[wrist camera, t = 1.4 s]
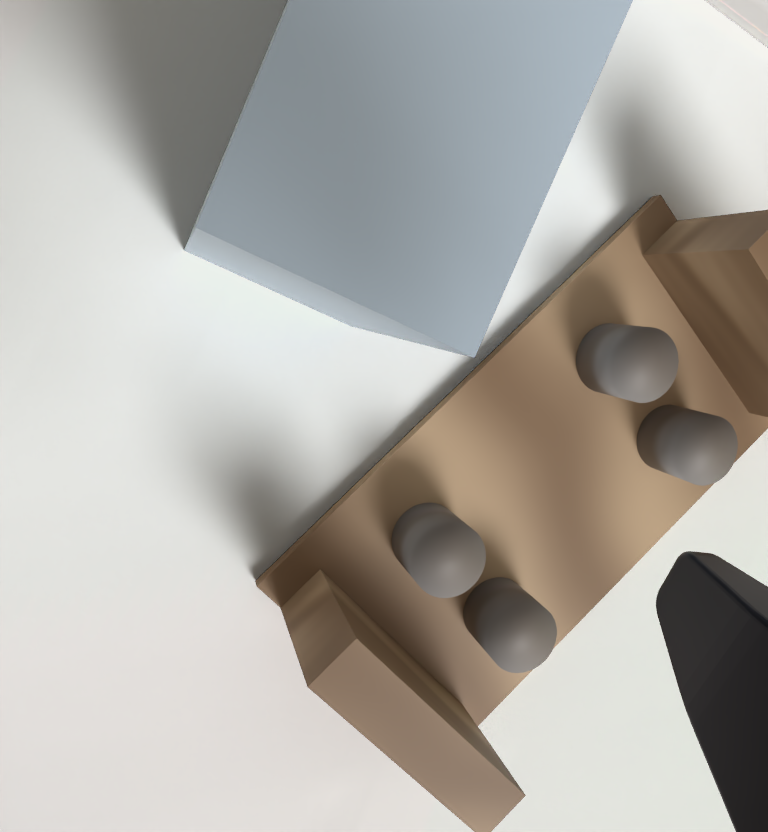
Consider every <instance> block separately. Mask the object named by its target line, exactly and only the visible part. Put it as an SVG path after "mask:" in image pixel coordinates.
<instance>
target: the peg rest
mask: <svg viewBox="0 0 768 832" xmlns="http://www.w3.org/2000/svg"><path fill="white" fill-rule="evenodd" d="M767 429H768V210H763V211H755V212H746V213H738V214H729V215H721V216H712V217H704V218H695V219H686V220H678V221H677V220H676V218H675V216H674V215H673V213H672V212H671V210H670V209H669V207H668V206H667V204H666V202H665V201H664V199H663V198H662V196H661V195H658V196H653V197H652V198H650V199H649V200H648V201H647V202H646V203H645V204H644V205H643V206H642V207H641V208H640V209H639V210H638V211H637V212H636V213H635V214H634V215H633V216H632V217H631V218H630V219H629V220H628V221H627V222H626V223H625V224H624V225H623V226H622V227H621V228H620V229H618V230H617V231H616V232H615V233H614V234H613V235H612V236H611V237H610V238H609V239H608V240H607V241H606V242H605V243H604V244H603V245H602V246H601V247H600V248H599V249H598V250H597V251H596V252H595V253H594V254H593V255H592V256H591V257H590V258H589V259H587V260H586V261H585V262H584V263H583V264H582V265H581V266H580V267H579V268H578V269H577V270H576V271H575V272H574V273H573V274H572V275H571V276H570V277H569V278H568V279H567V280H566V281H565V282H564V283H563V284H562V285H561V286H560V287H559V288H558V289H557V290H555V291H554V292H553V293H552V294H551V295H550V296H549V297H548V298H547V299H546V300H545V301H544V302H543V303H542V304H541V305H540V306H539V307H538V308H537V309H536V310H535V311H534V312H533V313H532V314H531V315H530V316H529V317H528V318H527V319H526V320H524V321H523V322H522V323H521V324H520V325H519V326H518V327H517V328H516V329H515V330H514V331H513V332H512V333H511V334H510V335H509V336H508V337H507V338H506V339H505V340H504V341H503V342H502V343H501V344H500V345H499V346H498V347H497V348H496V349H495V350H494V351H492V352H491V353H490V354H489V355H488V356H487V357H486V358H485V359H484V360H483V361H482V362H481V363H480V364H479V365H478V366H477V367H476V368H475V369H474V370H473V371H472V372H471V373H470V374H469V375H468V376H467V377H466V378H465V379H464V380H463V381H461V382H460V383H459V384H458V385H457V386H456V387H455V388H454V389H453V390H452V391H451V392H450V393H449V394H448V395H447V396H446V397H445V398H444V399H443V400H442V401H441V402H440V403H439V404H438V405H437V406H436V407H435V408H434V409H433V410H432V411H431V412H429V413H428V414H427V415H426V416H425V417H424V418H423V419H422V420H421V421H420V422H419V423H418V424H417V425H416V426H415V427H414V428H413V429H412V430H411V431H410V432H409V433H408V434H407V435H406V436H405V437H404V438H403V439H402V440H401V441H400V442H398V443H397V444H396V445H395V446H394V447H393V448H392V449H391V450H390V451H389V452H388V453H387V454H386V455H385V456H384V457H383V458H382V459H381V460H380V461H379V462H378V463H377V464H376V465H375V466H374V467H373V468H372V469H371V470H370V471H369V472H368V473H366V474H365V475H364V476H363V477H362V478H361V479H360V480H359V481H358V482H357V483H356V484H355V485H354V486H353V487H352V488H351V489H350V490H349V491H348V492H347V493H346V494H345V495H344V496H343V497H342V498H341V499H340V500H339V501H338V502H337V503H335V504H334V505H333V506H332V507H331V508H330V509H329V510H328V511H327V512H326V513H325V514H324V515H323V516H322V517H321V518H320V519H319V520H318V521H317V522H316V523H315V524H314V525H313V526H312V527H311V528H310V529H309V530H308V531H307V532H306V533H305V534H303V535H302V536H301V537H300V538H299V539H298V540H297V541H296V542H295V543H294V544H293V545H292V546H291V547H290V548H289V549H288V550H287V551H286V552H285V553H284V554H283V555H282V556H281V557H280V558H279V559H278V560H277V561H276V562H275V563H274V564H272V565H271V566H270V567H269V568H268V569H267V570H266V571H265V572H264V573H263V574H262V575H261V576H260V577H259V578H258V579H257V580H256V585H257V587H258V588H259V589H260V590H262V591H263V592H264V593H265V594H266V595H267V596H268V597H269V598H270V599H271V600H273V601H274V602H275V603H276V604H277V605H278V606H279V607H280V608H281V610H282V613H283V616H284V619H285V622H286V625H287V628H288V631H289V634H290V637H291V640H292V642H293V645H294V648H295V651H296V654H297V657H298V660H299V663H300V666H301V669H302V672H303V675H304V678H305V680H306V683H307V686H308V688H310V689H311V690H312V691H313V692H314V693H315V694H316V695H318V696H319V697H320V698H321V699H322V700H323V701H324V702H326V703H327V704H328V705H329V706H330V707H331V708H333V709H334V710H335V711H336V712H337V713H338V714H339V715H341V716H342V717H343V718H344V719H345V720H346V721H348V722H349V723H350V724H351V725H352V726H353V727H354V728H356V729H357V730H358V731H359V732H360V733H361V734H363V735H364V736H365V737H366V738H367V739H368V740H369V741H371V742H372V743H373V744H374V745H375V746H376V747H377V748H379V749H380V750H381V751H382V752H383V753H384V754H386V755H387V756H388V757H389V758H390V759H391V760H392V761H394V762H395V763H396V764H397V765H398V766H399V767H401V768H402V769H403V770H404V771H405V772H406V773H407V774H409V775H410V776H411V777H412V778H413V779H414V780H416V781H417V782H418V783H419V784H420V785H421V786H422V787H424V788H425V789H426V790H427V791H428V792H429V793H431V794H432V795H433V796H434V797H435V798H436V799H437V800H439V801H440V802H441V803H442V804H443V805H444V806H445V807H447V808H448V809H449V810H450V811H451V812H452V813H454V814H455V815H456V816H457V817H458V818H459V819H460V820H462V821H463V822H464V823H465V824H466V825H467V826H469V827H470V828H471V829H472V830H473V831H474V832H491V831H492V830H493V829H494V828H495V827H496V826H497V825H498V824H499V823H500V822H501V821H502V820H503V819H504V818H505V816H506V815H507V814H508V813H509V812H510V811H511V810H512V809H513V808H514V807H515V806H516V805H517V804H518V803H519V802H520V801H521V800H522V799H523V798H524V797H525V796H526V795H525V794H524V793H523V791H522V790H521V788H520V787H519V785H518V784H517V782H516V781H515V780H514V778H513V777H512V775H511V774H510V772H509V771H508V769H507V768H506V767H505V765H504V764H503V762H502V761H501V759H500V758H499V756H498V755H497V754H496V752H495V751H494V749H493V748H492V746H491V745H490V743H489V742H488V741H487V739H486V738H485V736H484V735H483V733H482V732H481V730H480V729H479V728H478V725H479V724H480V723H481V722H482V721H483V720H484V719H485V718H486V717H487V716H488V715H489V714H490V713H491V712H492V711H493V710H494V709H495V708H496V707H497V706H498V705H499V704H500V703H501V702H502V701H503V700H504V699H505V698H506V697H507V696H508V695H509V694H510V693H511V691H512V690H513V689H514V688H515V687H516V686H517V685H518V684H519V683H520V682H521V681H522V680H523V679H524V678H525V677H526V676H527V675H528V674H529V673H530V672H531V671H532V670H533V669H534V668H536V667H538V666H539V665H540V664H542V663H543V662H544V661H545V660H546V659H547V658H548V656H549V655H550V653H551V652H552V650H553V648H554V647H555V646H556V645H557V644H558V643H559V642H560V641H561V640H562V639H563V638H564V637H565V636H566V635H567V634H568V633H569V632H570V631H571V630H572V629H573V628H574V627H575V626H576V625H577V624H578V623H579V622H580V621H581V620H582V619H583V618H584V617H585V615H586V614H587V613H588V612H589V611H590V610H591V609H592V608H593V607H594V606H595V605H596V604H597V603H598V602H599V601H600V600H601V599H602V598H603V597H604V596H605V595H606V594H607V593H608V592H609V591H610V590H611V589H612V588H613V587H614V586H615V585H616V584H617V583H618V582H619V581H620V580H621V579H622V577H623V576H624V575H625V574H626V573H627V572H628V571H629V570H630V569H631V568H632V567H633V566H634V565H635V564H636V563H637V562H638V561H639V560H640V559H641V558H642V557H643V556H644V555H645V554H646V553H647V552H648V551H649V550H650V549H651V548H652V547H653V546H654V545H655V544H656V543H657V542H658V541H659V539H660V538H661V537H662V536H663V535H664V534H665V533H666V532H667V531H668V530H669V529H670V528H671V527H672V526H673V525H674V524H675V523H676V522H677V521H678V520H679V519H680V518H681V517H682V516H683V515H684V514H685V513H686V512H687V511H688V510H689V509H690V508H691V507H692V506H693V505H694V504H695V503H696V501H697V500H698V499H699V498H700V497H701V496H702V495H703V494H704V493H705V492H706V491H707V490H708V489H709V488H710V487H711V486H712V485H713V484H714V483H715V482H717V481H719V480H720V479H722V478H723V477H724V476H725V475H726V474H727V473H728V471H729V470H730V469H731V467H732V465H733V463H734V462H735V461H736V460H737V459H738V458H739V457H740V456H741V455H742V454H743V453H744V452H745V451H746V450H747V449H748V448H749V447H750V446H751V445H752V444H753V443H754V442H755V441H756V440H757V439H758V438H759V437H760V436H761V435H762V434H763V433H764V432H765V431H766V430H767Z"/></svg>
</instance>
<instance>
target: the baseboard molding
mask: <svg viewBox="0 0 768 832" xmlns="http://www.w3.org/2000/svg"><path fill="white" fill-rule="evenodd" d="M705 1H706V2H707V3H709V4H710V5H711V6H713V7H714V8H715V9H717V10H718V11H719V12H721V13H722V14H723V15H725V16H726V17H727V18H729V19H730V20H731V21H733V22H734V23H735V24H737V25H738V26H739V27H741V28H742V29H743V30H745V31H746V32H747V33H749V34H750V35H751V36H753V37H754V38H755V39H757V40H758V41H759V42H761V43H762V44H763V45H765V46H766V47H767V48H768V0H705Z"/></svg>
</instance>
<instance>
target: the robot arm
mask: <svg viewBox="0 0 768 832" xmlns="http://www.w3.org/2000/svg"><path fill="white" fill-rule="evenodd" d="M656 609H657V615H658V618H659V622H660V625H661V629H662V632H663V635H664V639H665V642H666V646H667V649H668V652H669V656H670V659H671V663H672V666H673V670H674V673H675V676H676V680H677V683H678V687H679V690H680V693H681V696H682V699H683V702H684V705H685V708H686V711H687V714H688V716H689V719H690V722H691V724H692V727H693V729H694V732H695V734H696V736H697V739H698V741H699V744H700V746H701V748H702V751H703V753H704V756H705V758H706V760H707V763H708V765H709V768H710V770H711V773H712V775H713V777H714V780H715V782H716V785H717V787H718V789H719V792H720V794H721V797H722V799H723V801H724V804H725V806H726V809H727V811H728V814H729V816H730V818H731V821H732V823H733V826H734V828H735V830H736V832H768V587H767V586H765V585H764V584H762V583H760V582H759V581H757V580H756V579H754V578H752V577H751V576H749V575H747V574H746V573H744V572H743V571H741V570H739V569H738V568H736V567H734V566H733V565H731V564H730V563H728V562H726V561H725V560H723V559H721V558H720V557H718V556H716V555H714V554H710V553H701V552H691V551H688V552H684V553H682V554H681V555H680V556H679V557H678V558H677V560H676V562H675V564H674V565H673V567H672V569H671V570H670V572H669V574H668V576H667V577H666V579H665V581H664V583H663V584H662V586H661V588H660V590H659V592H658V595H657V600H656Z"/></svg>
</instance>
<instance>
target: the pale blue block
mask: <svg viewBox="0 0 768 832" xmlns="http://www.w3.org/2000/svg"><path fill="white" fill-rule="evenodd" d="M632 1H633V0H288V1H287V3H286V6H285V8H284V11H283V13H282V15H281V18H280V20H279V23H278V25H277V27H276V30H275V32H274V35H273V37H272V39H271V42H270V44H269V47H268V49H267V51H266V54H265V56H264V59H263V61H262V63H261V66H260V68H259V71H258V73H257V76H256V78H255V80H254V83H253V85H252V88H251V90H250V92H249V95H248V97H247V100H246V102H245V104H244V107H243V109H242V112H241V114H240V116H239V119H238V121H237V124H236V126H235V128H234V131H233V133H232V136H231V138H230V140H229V143H228V145H227V148H226V150H225V152H224V155H223V157H222V160H221V162H220V165H219V167H218V169H217V172H216V174H215V177H214V179H213V181H212V184H211V186H210V189H209V191H208V193H207V196H206V198H205V201H204V203H203V205H202V208H201V210H200V213H199V215H198V217H197V220H196V222H195V225H194V227H193V229H192V232H191V234H190V237H189V239H188V241H187V244H186V246H185V249H184V250H185V251H187V252H189V253H191V254H193V255H196V256H198V257H200V258H202V259H204V260H207V261H209V262H211V263H213V264H215V265H218V266H220V267H222V268H224V269H226V270H229V271H231V272H233V273H235V274H237V275H240V276H242V277H244V278H246V279H248V280H251V281H253V282H255V283H257V284H259V285H262V286H264V287H266V288H268V289H270V290H273V291H275V292H277V293H279V294H281V295H284V296H286V297H288V298H290V299H292V300H295V301H297V302H299V303H301V304H303V305H306V306H308V307H310V308H312V309H314V310H317V311H319V312H321V313H323V314H326V315H328V316H330V317H332V318H334V319H337V320H339V321H341V322H343V323H345V324H348V325H350V326H352V327H356V328H360V329H364V330H368V331H372V332H376V333H380V334H384V335H388V336H391V337H395V338H399V339H403V340H407V341H411V342H415V343H419V344H423V345H427V346H430V347H434V348H438V349H442V350H446V351H450V352H454V353H458V354H462V355H466V356H470V357H473V358H475V356H476V353H477V351H478V349H479V347H480V344H481V342H482V340H483V338H484V335H485V333H486V331H487V329H488V326H489V324H490V322H491V320H492V317H493V315H494V313H495V311H496V308H497V306H498V304H499V301H500V299H501V297H502V295H503V292H504V290H505V288H506V286H507V283H508V281H509V279H510V277H511V274H512V272H513V270H514V268H515V265H516V263H517V261H518V259H519V256H520V254H521V252H522V250H523V247H524V245H525V243H526V240H527V238H528V236H529V234H530V231H531V229H532V227H533V225H534V222H535V220H536V218H537V216H538V213H539V211H540V209H541V207H542V204H543V202H544V200H545V198H546V195H547V193H548V191H549V189H550V186H551V184H552V182H553V179H554V177H555V175H556V173H557V170H558V168H559V166H560V164H561V161H562V159H563V157H564V155H565V152H566V150H567V148H568V146H569V143H570V141H571V139H572V137H573V134H574V132H575V130H576V127H577V125H578V123H579V121H580V118H581V116H582V114H583V112H584V109H585V107H586V105H587V103H588V100H589V98H590V96H591V94H592V91H593V89H594V87H595V85H596V82H597V80H598V78H599V76H600V73H601V71H602V69H603V66H604V64H605V62H606V60H607V57H608V55H609V53H610V51H611V48H612V46H613V44H614V42H615V39H616V37H617V35H618V33H619V30H620V28H621V26H622V24H623V21H624V19H625V17H626V15H627V12H628V10H629V8H630V5H631V3H632Z"/></svg>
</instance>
